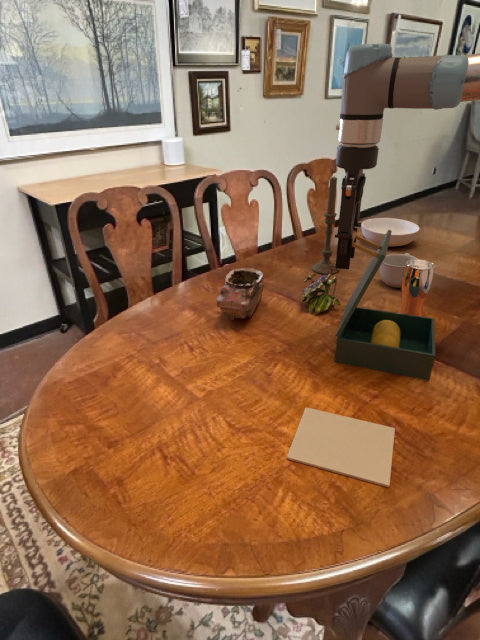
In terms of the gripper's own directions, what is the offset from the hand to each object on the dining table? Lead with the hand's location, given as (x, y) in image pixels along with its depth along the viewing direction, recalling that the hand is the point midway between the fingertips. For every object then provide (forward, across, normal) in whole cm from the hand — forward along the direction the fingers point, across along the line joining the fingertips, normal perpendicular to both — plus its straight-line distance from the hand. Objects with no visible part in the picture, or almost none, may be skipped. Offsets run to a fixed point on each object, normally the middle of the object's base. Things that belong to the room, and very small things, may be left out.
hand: (344, 262), depth 88 cm
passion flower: (+21, -18, -7) cm, 28 cm away
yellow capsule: (+20, 0, +11) cm, 23 cm away
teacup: (+21, -42, +12) cm, 48 cm away
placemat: (+21, +31, +7) cm, 38 cm away
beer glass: (+21, -19, +16) cm, 32 cm away
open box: (+21, 0, +11) cm, 23 cm away
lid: (+4, 0, +5) cm, 6 cm away
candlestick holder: (+21, -45, -11) cm, 51 cm away
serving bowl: (+21, -79, +6) cm, 82 cm away
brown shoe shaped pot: (+21, -8, -25) cm, 34 cm away
